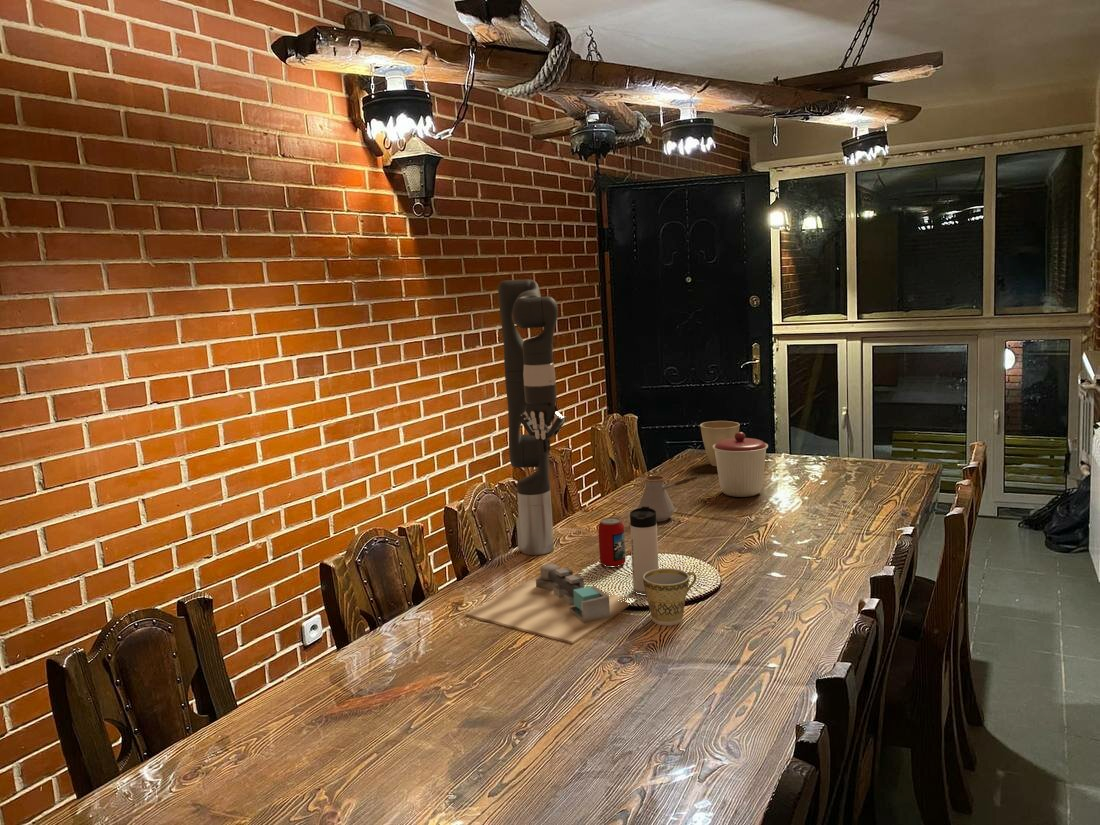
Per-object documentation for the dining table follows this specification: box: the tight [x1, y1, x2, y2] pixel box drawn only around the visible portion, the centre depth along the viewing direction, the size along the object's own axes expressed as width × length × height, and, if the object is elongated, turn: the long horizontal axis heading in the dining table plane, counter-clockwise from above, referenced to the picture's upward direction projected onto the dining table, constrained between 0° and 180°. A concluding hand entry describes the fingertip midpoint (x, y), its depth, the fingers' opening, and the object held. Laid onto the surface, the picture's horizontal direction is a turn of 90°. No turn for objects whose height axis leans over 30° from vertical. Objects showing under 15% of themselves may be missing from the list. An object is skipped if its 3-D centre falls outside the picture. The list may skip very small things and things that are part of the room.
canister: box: [713, 431, 769, 498], centre depth 274 cm, size 18×18×21 cm
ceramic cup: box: [643, 567, 697, 627], centre depth 179 cm, size 13×10×10 cm
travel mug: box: [629, 506, 660, 594], centre depth 194 cm, size 6×7×20 cm
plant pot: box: [699, 420, 741, 467], centre depth 317 cm, size 15×15×16 cm
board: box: [465, 576, 633, 645], centre depth 189 cm, size 30×26×2 cm
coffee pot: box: [637, 475, 702, 522], centre depth 250 cm, size 21×12×15 cm, turn 53°
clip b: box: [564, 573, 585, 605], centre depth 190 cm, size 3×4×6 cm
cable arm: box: [539, 563, 600, 610], centre depth 192 cm, size 25×4×4 cm, turn 24°
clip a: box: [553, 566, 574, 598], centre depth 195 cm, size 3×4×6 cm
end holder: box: [570, 585, 611, 624], centre depth 182 cm, size 7×7×5 cm
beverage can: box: [598, 516, 626, 567], centre depth 214 cm, size 7×7×12 cm
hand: (544, 453), depth 196 cm, fingers closed
